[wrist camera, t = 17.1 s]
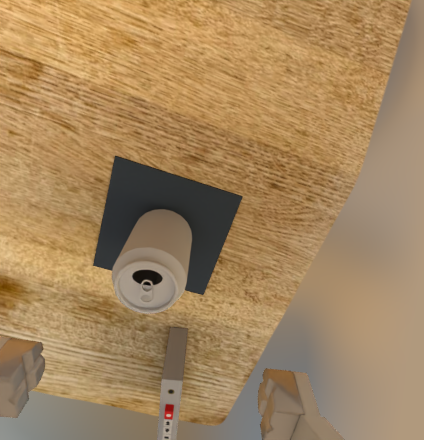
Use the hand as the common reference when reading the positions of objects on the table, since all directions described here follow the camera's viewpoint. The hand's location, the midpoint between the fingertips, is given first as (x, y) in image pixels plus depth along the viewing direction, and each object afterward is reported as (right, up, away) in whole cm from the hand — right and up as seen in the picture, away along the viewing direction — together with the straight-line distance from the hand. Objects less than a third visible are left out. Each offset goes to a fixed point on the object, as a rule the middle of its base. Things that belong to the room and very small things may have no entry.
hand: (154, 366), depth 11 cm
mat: (-4, +4, +29) cm, 29 cm away
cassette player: (-4, -18, +39) cm, 43 cm away
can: (-4, +4, +29) cm, 29 cm away
